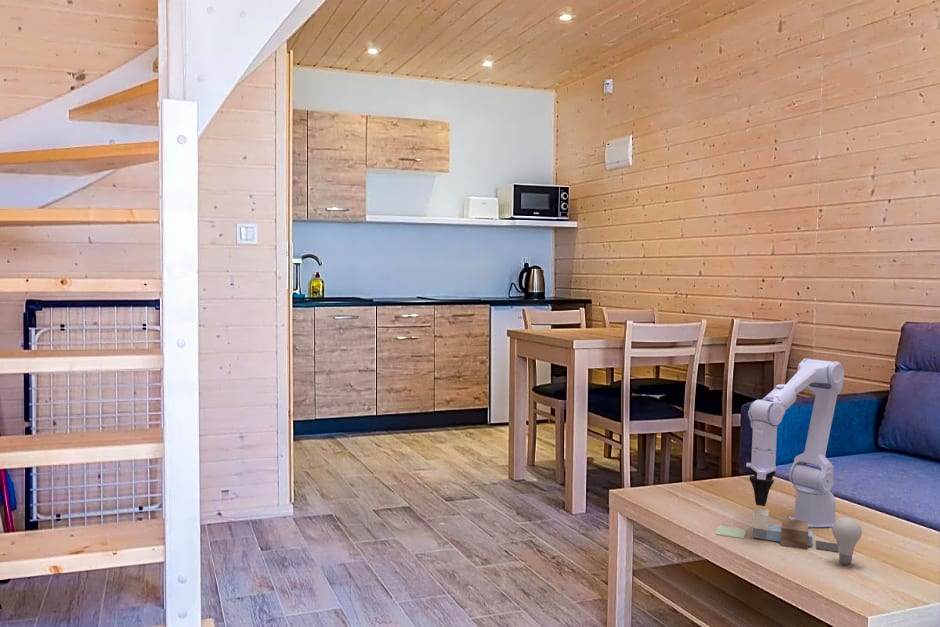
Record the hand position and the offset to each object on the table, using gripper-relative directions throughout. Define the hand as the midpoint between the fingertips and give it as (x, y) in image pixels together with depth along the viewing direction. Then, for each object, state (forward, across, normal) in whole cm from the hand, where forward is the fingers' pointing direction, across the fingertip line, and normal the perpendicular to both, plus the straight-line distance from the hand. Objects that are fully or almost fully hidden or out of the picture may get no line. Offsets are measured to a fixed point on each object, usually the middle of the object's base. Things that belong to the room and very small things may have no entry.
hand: (761, 501), depth 193 cm
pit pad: (+9, 0, +16) cm, 18 cm away
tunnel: (+9, 0, +8) cm, 12 cm away
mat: (+9, 0, -7) cm, 11 cm away
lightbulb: (+9, +11, +19) cm, 24 cm away
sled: (+9, 0, +5) cm, 10 cm away
